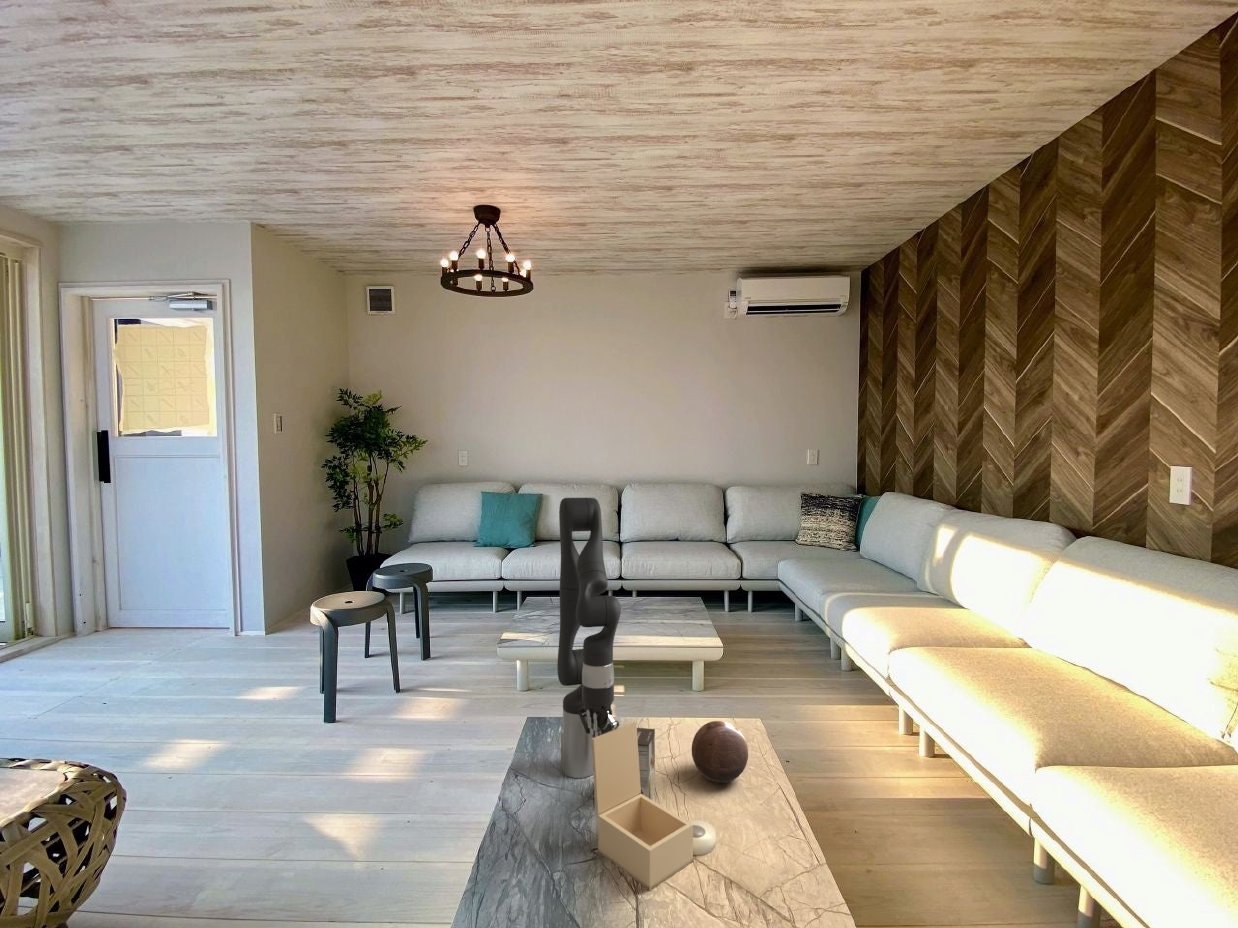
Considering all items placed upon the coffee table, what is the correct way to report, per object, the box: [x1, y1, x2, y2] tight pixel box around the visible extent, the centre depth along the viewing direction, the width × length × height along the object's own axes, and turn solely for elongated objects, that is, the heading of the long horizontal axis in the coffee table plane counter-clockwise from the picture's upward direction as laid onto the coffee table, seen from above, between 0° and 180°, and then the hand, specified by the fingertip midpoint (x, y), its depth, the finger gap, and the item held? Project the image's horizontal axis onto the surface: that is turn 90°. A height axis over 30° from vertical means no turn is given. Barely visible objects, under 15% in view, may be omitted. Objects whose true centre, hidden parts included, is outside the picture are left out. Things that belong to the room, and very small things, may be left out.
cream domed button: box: [685, 819, 717, 856], centre depth 137 cm, size 9×9×2 cm
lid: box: [592, 721, 641, 815], centre depth 138 cm, size 16×13×1 cm
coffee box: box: [624, 727, 656, 802], centre depth 154 cm, size 9×6×16 cm
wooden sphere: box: [691, 720, 749, 784], centre depth 164 cm, size 15×15×15 cm
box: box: [597, 794, 694, 891], centre depth 132 cm, size 16×13×8 cm
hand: (597, 754), depth 143 cm, fingers closed
